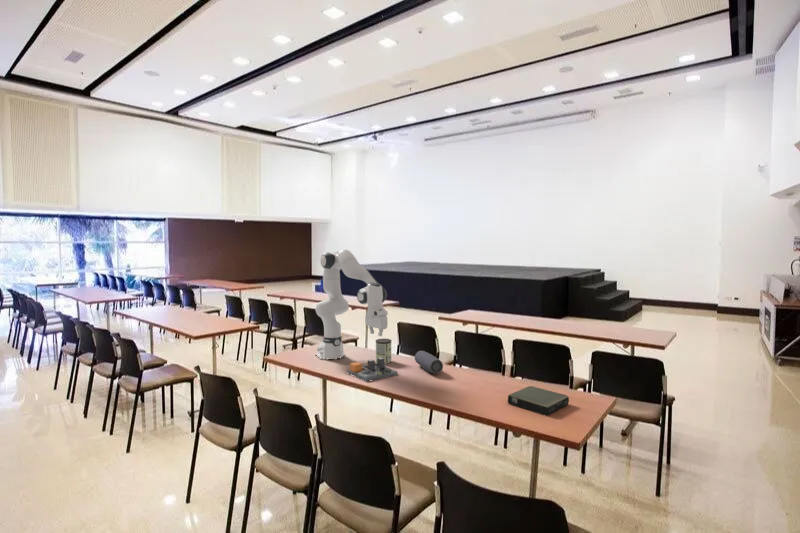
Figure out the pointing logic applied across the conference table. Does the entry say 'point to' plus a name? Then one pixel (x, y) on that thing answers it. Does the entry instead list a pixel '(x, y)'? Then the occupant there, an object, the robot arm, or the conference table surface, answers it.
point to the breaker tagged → (371, 364)
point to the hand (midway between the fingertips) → (376, 334)
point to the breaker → (380, 362)
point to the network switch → (538, 400)
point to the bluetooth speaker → (428, 362)
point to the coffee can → (383, 350)
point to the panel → (373, 373)
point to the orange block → (355, 367)
